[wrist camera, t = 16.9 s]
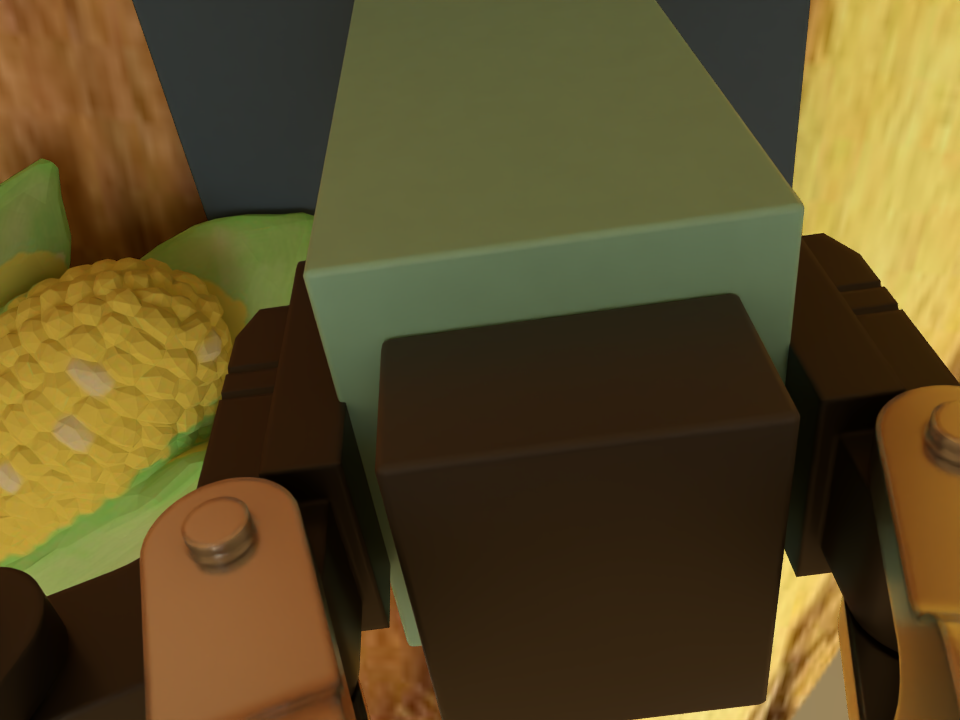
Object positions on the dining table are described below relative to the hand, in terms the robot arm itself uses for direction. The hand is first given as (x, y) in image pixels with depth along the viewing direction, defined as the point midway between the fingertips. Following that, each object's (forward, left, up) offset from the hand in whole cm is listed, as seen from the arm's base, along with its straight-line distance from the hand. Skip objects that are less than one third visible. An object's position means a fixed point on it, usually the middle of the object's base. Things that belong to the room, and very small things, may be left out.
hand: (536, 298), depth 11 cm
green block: (0, 0, -2) cm, 2 cm away
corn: (+13, +9, -11) cm, 19 cm away
